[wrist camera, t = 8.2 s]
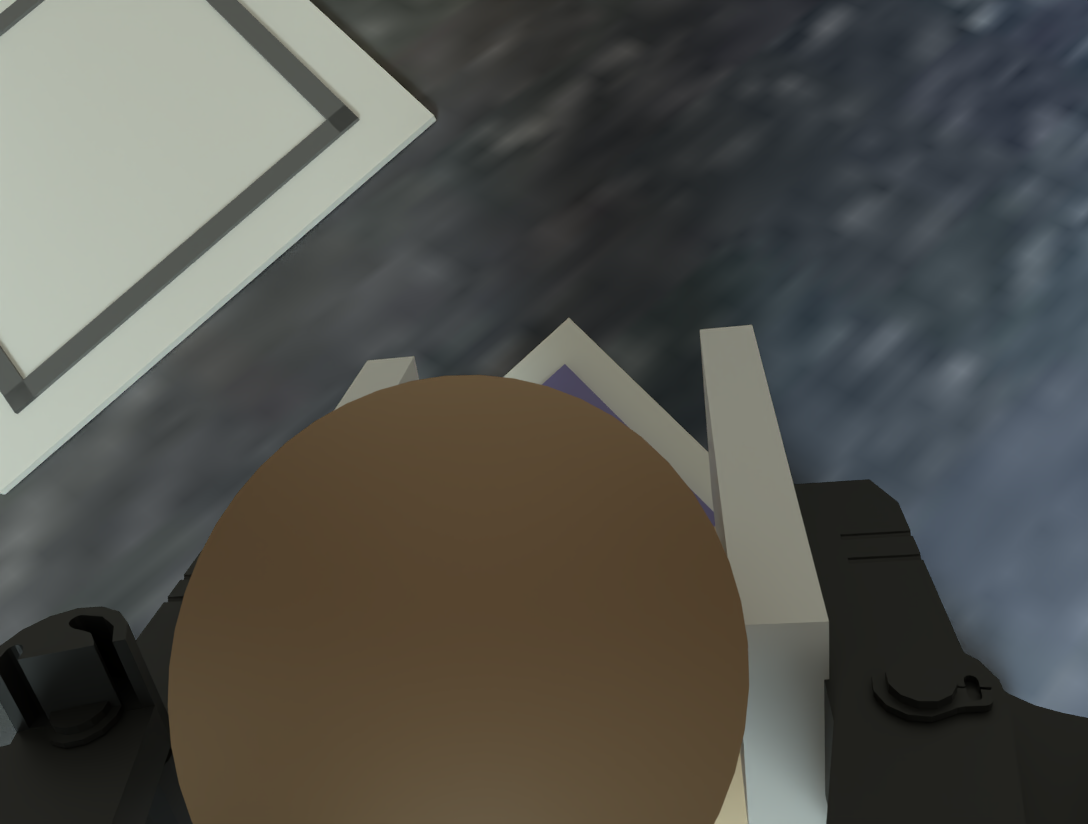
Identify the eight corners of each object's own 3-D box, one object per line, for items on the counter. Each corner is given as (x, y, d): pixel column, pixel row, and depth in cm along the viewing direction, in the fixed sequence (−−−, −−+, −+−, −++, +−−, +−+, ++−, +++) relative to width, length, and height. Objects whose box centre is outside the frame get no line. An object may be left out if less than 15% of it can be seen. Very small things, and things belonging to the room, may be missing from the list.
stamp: (757, 831, 16) (837, 1062, 6) (476, 834, 17) (95, 1040, 6) (730, 544, 17) (755, 312, 7) (475, 559, 18) (165, 368, 8)
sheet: (-214, 157, 27) (-223, 151, 27) (154, -141, 28) (148, -149, 28) (4, 494, 22) (-4, 491, 22) (436, 120, 23) (432, 112, 23)
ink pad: (275, 612, 20) (244, 605, 19) (576, 338, 21) (567, 313, 20) (657, 1125, 16) (652, 1163, 15) (1013, 764, 17) (1038, 769, 15)
